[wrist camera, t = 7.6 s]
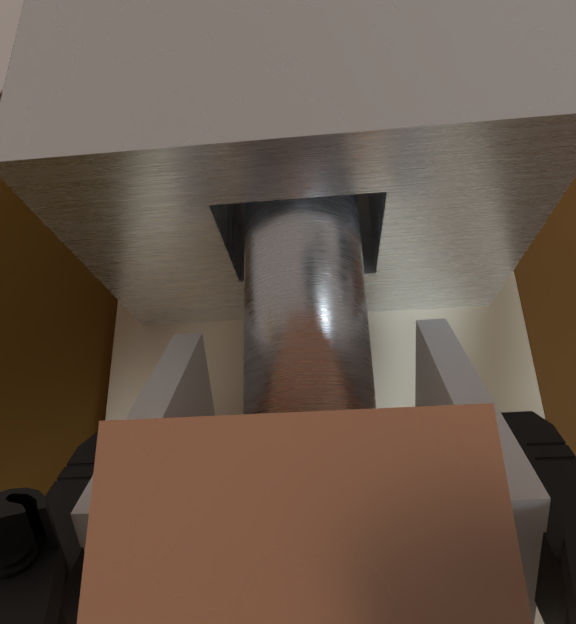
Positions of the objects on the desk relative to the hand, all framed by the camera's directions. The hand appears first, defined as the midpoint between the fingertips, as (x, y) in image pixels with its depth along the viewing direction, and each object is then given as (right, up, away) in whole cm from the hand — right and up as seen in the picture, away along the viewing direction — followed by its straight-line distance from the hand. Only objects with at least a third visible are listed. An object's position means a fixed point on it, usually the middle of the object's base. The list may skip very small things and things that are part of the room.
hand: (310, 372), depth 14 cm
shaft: (0, +2, +4) cm, 4 cm away
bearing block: (0, +5, +6) cm, 8 cm away
